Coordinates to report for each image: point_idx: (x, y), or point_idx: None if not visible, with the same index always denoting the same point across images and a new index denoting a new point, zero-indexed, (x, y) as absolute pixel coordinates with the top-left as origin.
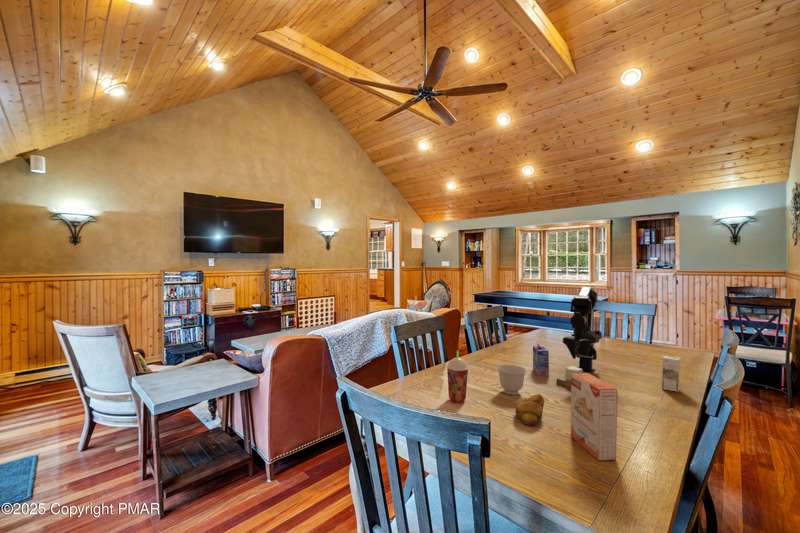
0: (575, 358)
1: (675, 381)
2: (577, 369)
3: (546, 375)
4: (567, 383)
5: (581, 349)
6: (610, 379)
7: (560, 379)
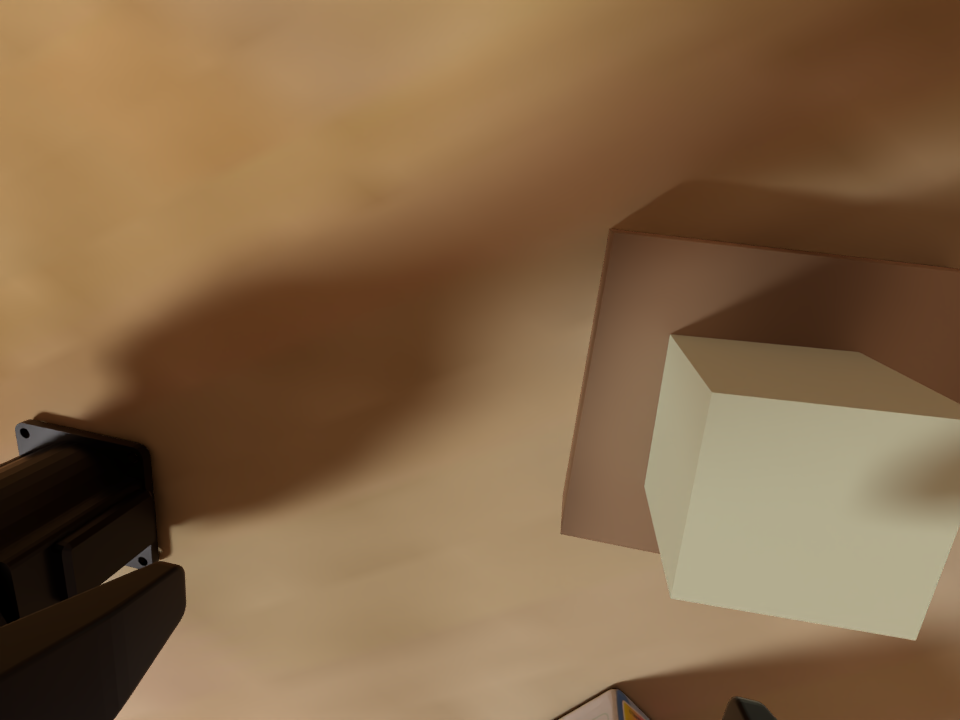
0: (740, 700)
1: None
2: (837, 451)
3: (634, 704)
4: None
5: None
6: (141, 179)
7: None
